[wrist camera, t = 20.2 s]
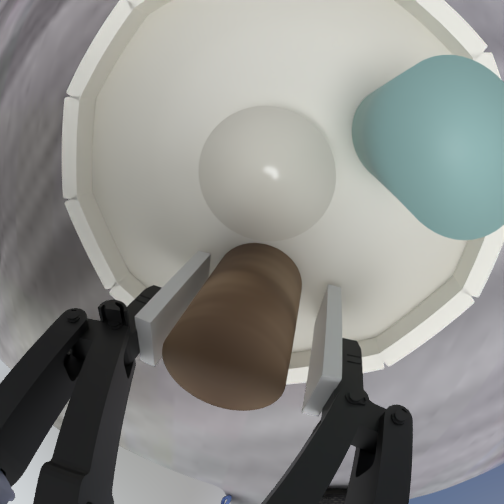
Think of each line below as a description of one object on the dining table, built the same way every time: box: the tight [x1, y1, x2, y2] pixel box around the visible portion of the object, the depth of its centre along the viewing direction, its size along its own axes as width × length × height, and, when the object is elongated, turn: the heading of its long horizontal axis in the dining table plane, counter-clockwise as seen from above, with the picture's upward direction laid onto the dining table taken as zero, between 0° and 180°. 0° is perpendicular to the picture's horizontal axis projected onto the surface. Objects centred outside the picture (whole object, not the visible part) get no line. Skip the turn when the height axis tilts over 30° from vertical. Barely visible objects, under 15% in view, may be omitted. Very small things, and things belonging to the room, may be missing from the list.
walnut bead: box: [162, 243, 302, 411], centre depth 13 cm, size 5×5×7 cm
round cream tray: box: [62, 0, 504, 384], centre depth 13 cm, size 26×26×3 cm
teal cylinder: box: [352, 55, 504, 240], centre depth 8 cm, size 5×5×7 cm
